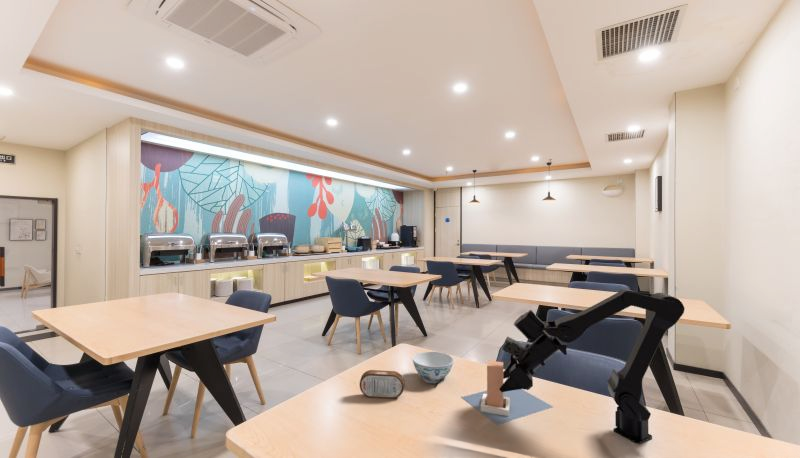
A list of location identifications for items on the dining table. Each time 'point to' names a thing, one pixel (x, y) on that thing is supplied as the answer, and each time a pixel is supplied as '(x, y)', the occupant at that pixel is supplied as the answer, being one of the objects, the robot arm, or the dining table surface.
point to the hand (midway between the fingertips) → (501, 383)
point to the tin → (382, 384)
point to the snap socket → (495, 409)
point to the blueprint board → (519, 405)
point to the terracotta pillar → (495, 384)
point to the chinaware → (432, 365)
